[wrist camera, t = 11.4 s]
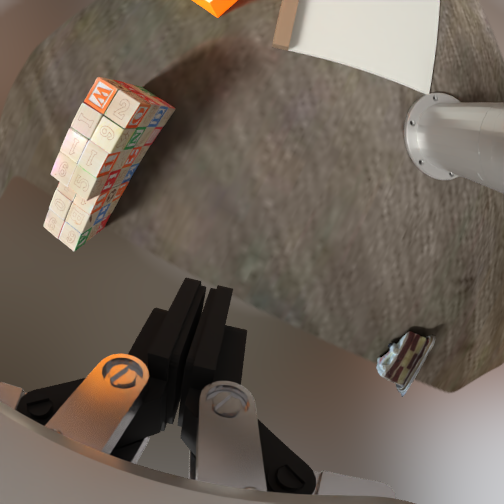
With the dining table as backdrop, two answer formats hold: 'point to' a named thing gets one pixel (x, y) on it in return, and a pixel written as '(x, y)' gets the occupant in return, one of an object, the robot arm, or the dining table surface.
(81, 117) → the stack of blocks
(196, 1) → the orange juice
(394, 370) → the chocolate cake
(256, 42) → the dining table surface
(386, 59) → the mat
